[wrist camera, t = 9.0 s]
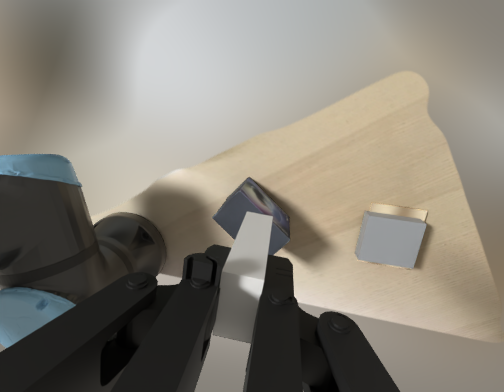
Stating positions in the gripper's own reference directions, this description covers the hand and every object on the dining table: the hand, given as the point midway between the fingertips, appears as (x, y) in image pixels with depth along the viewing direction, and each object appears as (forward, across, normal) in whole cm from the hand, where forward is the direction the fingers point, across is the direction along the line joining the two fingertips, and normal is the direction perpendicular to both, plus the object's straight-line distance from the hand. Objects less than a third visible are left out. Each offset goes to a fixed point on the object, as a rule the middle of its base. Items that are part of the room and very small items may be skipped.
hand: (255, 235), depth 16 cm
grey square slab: (+31, +17, -10) cm, 37 cm away
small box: (+34, -2, -9) cm, 35 cm away
